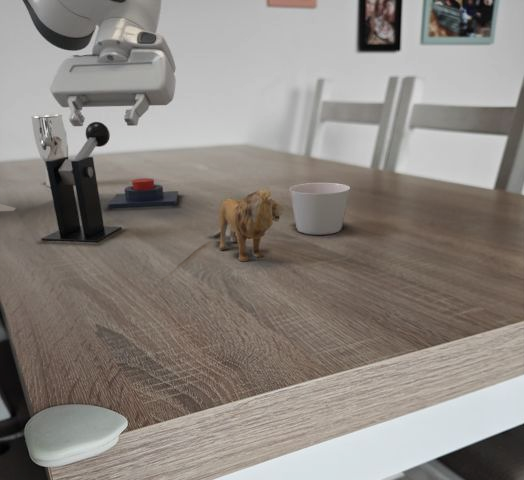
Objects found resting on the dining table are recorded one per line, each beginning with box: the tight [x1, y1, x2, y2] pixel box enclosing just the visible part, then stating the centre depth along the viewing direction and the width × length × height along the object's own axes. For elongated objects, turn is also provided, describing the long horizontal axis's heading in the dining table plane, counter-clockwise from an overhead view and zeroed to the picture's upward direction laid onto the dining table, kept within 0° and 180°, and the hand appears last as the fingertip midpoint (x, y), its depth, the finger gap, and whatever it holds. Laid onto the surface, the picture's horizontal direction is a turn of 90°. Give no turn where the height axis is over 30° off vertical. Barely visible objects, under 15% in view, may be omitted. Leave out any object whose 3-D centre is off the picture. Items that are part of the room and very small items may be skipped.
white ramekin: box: [289, 182, 351, 236], centre depth 84 cm, size 9×9×6 cm
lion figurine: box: [213, 189, 285, 262], centre depth 74 cm, size 15×5×9 cm, turn 35°
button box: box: [108, 183, 180, 210], centre depth 104 cm, size 12×10×4 cm
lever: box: [58, 121, 111, 186], centre depth 83 cm, size 13×4×4 cm, turn 167°
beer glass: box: [31, 114, 69, 188], centre depth 126 cm, size 7×7×15 cm
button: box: [131, 177, 155, 190], centre depth 103 cm, size 4×4×2 cm
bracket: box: [41, 156, 123, 244], centre depth 81 cm, size 8×9×12 cm
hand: (102, 123), depth 87 cm, fingers open, 8 cm apart
